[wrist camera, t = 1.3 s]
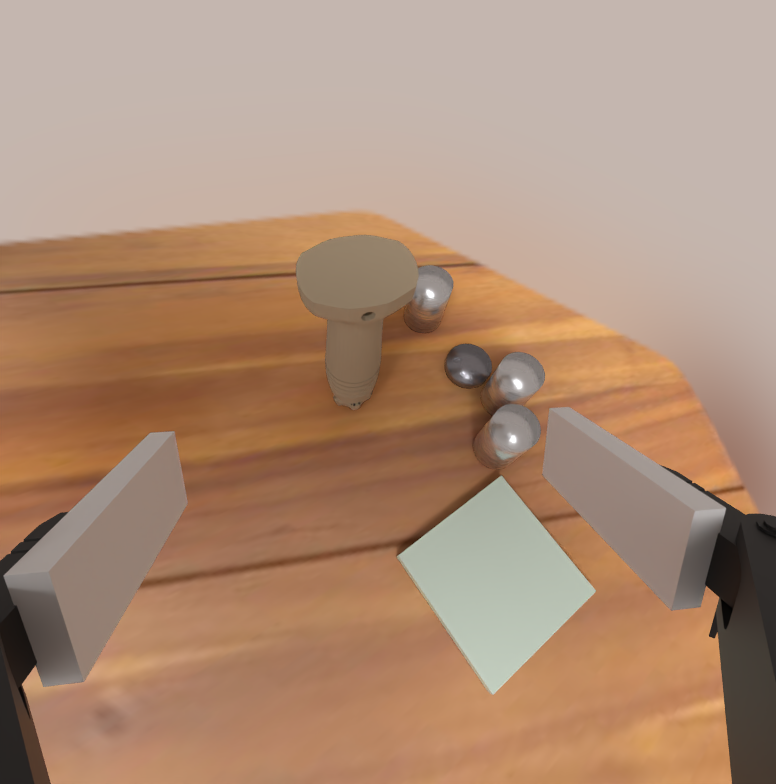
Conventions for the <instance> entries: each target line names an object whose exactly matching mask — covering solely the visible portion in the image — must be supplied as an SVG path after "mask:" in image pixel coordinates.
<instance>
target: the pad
mask: <svg viewBox="0 0 776 784" xmlns="http://www.w3.org/2000/svg"><path fill="white" fill-rule="evenodd" d="M397 558H398V560H399V561H400V563H401V564H402V566H403V567H404V569H405V570H406V572H407V573H408V575H409V576H410V577H411V579H412V580H413V582H414V583H415V585H416V586H417V588H418V589H419V591H420V592H421V594H422V595H423V597H424V598H425V600H426V601H427V603H428V604H429V606H430V607H431V608H432V610H433V611H434V613H435V614H436V616H437V617H438V619H439V620H440V622H441V623H442V625H443V626H444V628H445V629H446V631H447V632H448V634H449V635H450V636H451V638H452V639H453V641H454V642H455V644H456V645H457V647H458V648H459V650H460V651H461V653H462V654H463V656H464V657H465V659H466V660H467V662H468V663H469V664H470V666H471V667H472V669H473V670H474V672H475V673H476V675H477V676H478V678H479V679H480V681H481V682H482V684H483V685H484V687H485V688H486V690H487V691H488V692H489V693H491V694H492V695H493V694H494V693H495V692H496V691H497V690H498V689H499V688H500V687H501V686H502V685H503V684H504V683H505V682H506V681H507V680H508V679H509V678H510V677H511V676H512V675H513V674H514V673H515V672H516V671H517V670H518V669H519V668H520V667H521V666H522V665H523V664H524V663H525V662H526V661H527V660H528V659H529V658H530V657H531V656H532V655H533V654H534V653H535V652H536V651H537V650H538V649H539V648H540V647H541V646H542V645H543V644H544V643H545V642H546V641H547V640H548V639H549V638H550V637H551V636H552V635H553V634H554V633H555V632H556V631H557V630H558V629H559V628H560V627H561V626H562V625H563V624H564V623H565V622H566V621H567V620H568V619H569V618H570V617H571V616H572V615H573V614H574V613H575V612H576V611H577V610H578V609H579V608H580V607H581V606H582V605H583V604H584V603H585V602H586V601H587V600H588V599H589V598H590V597H591V596H592V595H593V594H594V593H595V592H596V590H595V589H594V588H593V587H592V585H591V584H590V583H589V582H588V581H587V579H586V578H585V577H584V576H583V574H582V573H581V572H580V571H579V570H578V568H577V567H576V566H575V565H574V563H573V562H572V561H571V560H570V559H569V557H568V556H567V555H566V554H565V552H564V551H563V550H562V549H561V548H560V546H559V545H558V544H557V543H556V541H555V540H554V539H553V538H552V537H551V535H550V534H549V533H548V532H547V530H546V529H545V528H544V527H543V526H542V524H541V523H540V522H539V521H538V519H537V518H536V517H535V516H534V515H533V513H532V512H531V511H530V510H529V508H528V507H527V506H526V505H525V504H524V502H523V501H522V500H521V499H520V497H519V496H518V495H517V494H516V493H515V491H514V490H513V489H512V488H511V486H510V485H509V484H508V483H507V482H506V480H505V479H504V478H503V477H502V475H501V476H500V477H499V478H497V479H496V480H495V481H493V482H492V483H491V484H490V485H488V486H487V487H486V488H484V489H483V490H482V491H481V492H479V493H478V494H477V495H475V496H474V497H473V498H472V499H470V500H469V501H468V502H466V503H465V504H464V505H463V506H461V507H460V508H459V509H457V510H456V511H455V512H453V513H452V514H451V515H450V516H448V517H447V518H446V519H444V520H443V521H442V522H441V523H439V524H438V525H437V526H435V527H434V528H433V529H432V530H430V531H429V532H428V533H426V534H425V535H424V536H423V537H421V538H420V539H419V540H417V541H416V542H415V543H414V544H412V545H411V546H410V547H408V548H407V549H406V550H405V551H403V552H402V553H401V554H399V555H398V556H397Z"/></svg>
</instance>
